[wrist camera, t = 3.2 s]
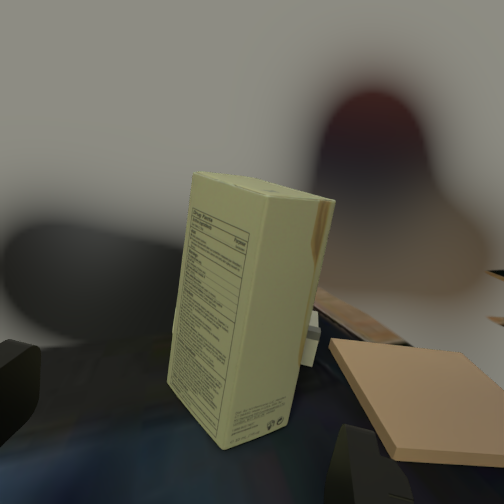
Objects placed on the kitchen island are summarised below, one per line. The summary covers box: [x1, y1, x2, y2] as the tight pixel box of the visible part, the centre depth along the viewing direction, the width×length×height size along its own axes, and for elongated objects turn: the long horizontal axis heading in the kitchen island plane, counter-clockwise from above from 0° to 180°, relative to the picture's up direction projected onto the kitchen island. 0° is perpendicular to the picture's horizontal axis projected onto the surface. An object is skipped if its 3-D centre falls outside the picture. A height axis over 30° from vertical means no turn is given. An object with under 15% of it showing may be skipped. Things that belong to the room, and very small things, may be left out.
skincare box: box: [167, 172, 336, 450], centre depth 21 cm, size 6×4×12 cm
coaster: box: [329, 338, 504, 467], centre depth 26 cm, size 11×11×1 cm
